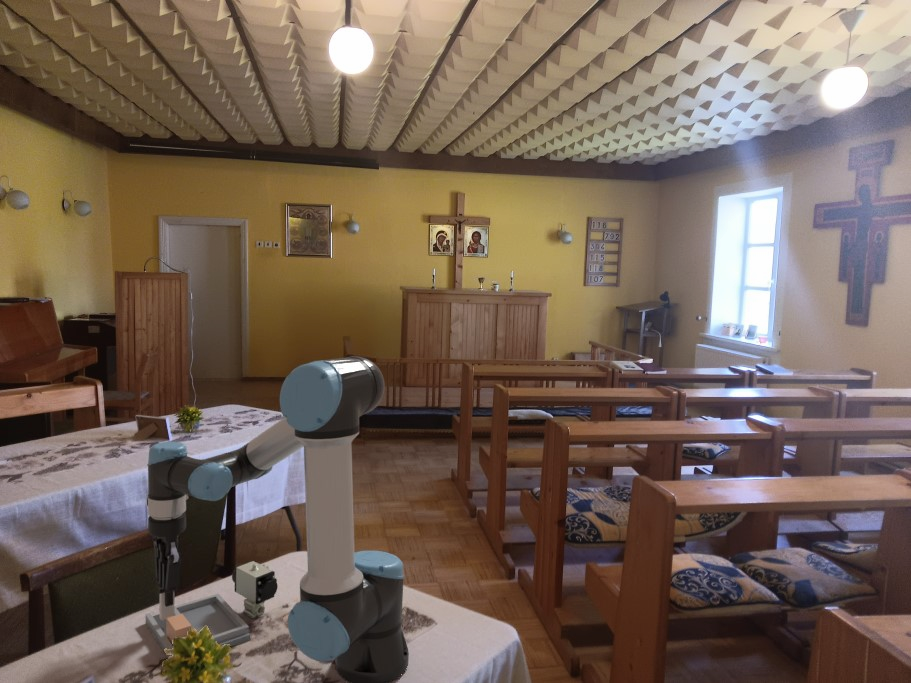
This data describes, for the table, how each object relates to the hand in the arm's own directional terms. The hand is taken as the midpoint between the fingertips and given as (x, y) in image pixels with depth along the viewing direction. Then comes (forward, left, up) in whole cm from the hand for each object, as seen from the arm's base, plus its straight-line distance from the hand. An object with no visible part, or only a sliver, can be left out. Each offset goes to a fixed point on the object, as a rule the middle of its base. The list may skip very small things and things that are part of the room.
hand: (166, 617), depth 138 cm
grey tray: (-4, -5, -3) cm, 7 cm away
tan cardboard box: (-8, 0, -2) cm, 8 cm away
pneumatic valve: (-4, -19, -4) cm, 19 cm away
